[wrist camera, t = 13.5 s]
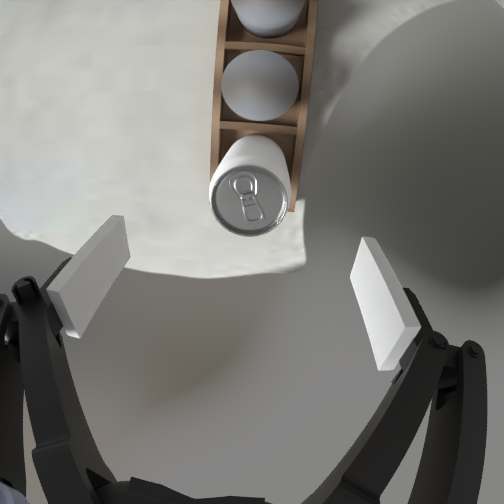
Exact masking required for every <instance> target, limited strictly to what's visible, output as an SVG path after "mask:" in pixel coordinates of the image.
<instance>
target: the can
mask: <svg viewBox="0 0 504 504" xmlns="http://www.w3.org/2000/svg"><path fill="white" fill-rule="evenodd" d="M291 195H292V191H291V183H290V178H289V174H288V169H287V165H286V161H285V157H284V154H283V152H282V150H281V148H280V147H279V145H278V144H277V143H276V142H274V141H273V140H272V139H270V138H268V137H266V136H262V135H248V136H245V137H243V138H241V139H239V140H238V141H236V142H235V143H234V144H233V145H232V146H231V148H230V149H229V150H228V152H227V153H226V155H225V157H224V158H223V160H222V161H221V163H220V164H219V166H218V168H217V169H216V171H215V173H214V175H213V177H212V179H211V182H210V187H209V198H210V204H211V209H212V212H213V214H214V216H215V218H216V220H217V221H218V222H219V223H220V224H221V225H222V226H223V227H224V228H225V229H227V230H228V231H230V232H232V233H234V234H237V235H241V236H248V237H252V236H259V235H263V234H265V233H268V232H270V231H271V230H273V229H274V228H275V227H277V226H278V225H279V223H280V222H281V221H282V219H283V218H284V216H285V214H286V212H287V211H288V208H289V206H290V202H291Z"/></svg>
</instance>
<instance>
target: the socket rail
mask: <svg viewBox="0 0 504 504" xmlns="http://www.w3.org/2000/svg"><path fill="white" fill-rule="evenodd" d="M317 2H318V0H221V3H220V13H219V23H218V35H217V47H216V60H215V74H214V90H213V109H212V131H211V161H210V182H211V179H212V177H213V175H214V173H215V171H216V169H217V168H218V166H219V164H220V163H221V161H222V160H223V158H224V157H225V155H226V153H227V152H228V150H229V149H230V148H231V146H232V145H233V144H234V143H235V142H236V141H238V140H239V139H241V138H243V137H245V136H248V135H262V136H266V137H268V138H270V139H272V140H273V141H274V142H276V143H277V144H278V145H279V147H280V148H281V150H282V152H283V154H284V157H285V161H286V165H287V169H288V174H289V178H290V183H291V191H292V195H291V202H290V206H289V208H288V211H287V212H294V209H295V203H296V196H297V189H298V182H299V175H300V167H301V160H302V152H303V144H304V136H305V128H306V120H307V111H308V103H309V93H310V84H311V74H312V64H313V53H314V42H315V30H316V17H317ZM210 205H211V204H210Z"/></svg>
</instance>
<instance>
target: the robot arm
mask: <svg viewBox="0 0 504 504" xmlns="http://www.w3.org/2000/svg"><path fill="white" fill-rule="evenodd" d="M129 258H130V252H129V247H128V241H127V235H126V228H125V222H124V216H117V215H112V216H111V217H110V218H109V219H108V220H107V221H106V222H105V223H104V224H103V225H102V226H101V227H100V228H99V229H98V230H97V231H96V232H95V233H94V234H93V236H92V237H91V238H90V239H89V240H88V241H87V242H86V243H85V244H84V245H83V246H82V247H81V249H80V250H79V251H78V252H77V253H76V254H75V255H74V257H73V258H71V257H70V258H68V259H67V260H65V261H64V262H62V264H61V265H60V266H59V267H58V268H57V270H55V272H54V273H53V275H51V276H50V278H49V279H48V280H47V281H46V282H45V284H44V285H43V286H42V287H41V289H40V290H39V288H38V285H37V283H36V280H35V278H33V277H30V276H27V277H23V278H21V279H19V280H18V281H17V282H16V283H15V284H14V285H13V287H12V293H13V295H14V297H15V299H16V301H17V302H10V301H9V298H8V296H7V295H5V294H0V504H29V503H28V501H27V499H26V473H25V462H24V447H23V397H24V390H25V396H26V402H27V407H28V412H29V417H30V421H31V426H32V430H33V434H34V438H35V442H36V448H35V449H33V450H32V458H33V462H34V465H35V468H36V471H37V474H38V477H39V480H40V483H41V486H42V488H43V491H44V494H45V496H46V499H47V501H48V504H271V503H268V502H265V498H254V497H253V498H252V497H238V496H226V497H216V498H204V499H194V498H190V497H188V496H186V495H183V494H181V493H179V492H176V491H174V490H172V489H170V488H167V487H165V486H163V485H161V484H156V483H153V482H149V481H145V480H141V479H138V478H134V477H131V479H130V481H119V482H117V480H116V479H115V477H114V475H113V474H112V472H111V471H110V469H109V468H108V467H107V466H106V464H105V463H104V461H103V459H102V457H101V455H100V453H99V451H98V449H97V446H96V444H95V441H94V439H93V437H92V434H91V432H90V429H89V427H88V424H87V422H86V419H85V416H84V413H83V410H82V408H81V405H80V402H79V399H78V396H77V392H76V389H75V386H74V383H73V379H72V376H71V372H70V368H69V364H68V361H67V357H66V352H65V348H64V344H63V339H62V336H61V334H60V330H61V329H62V327H64V329H65V331H66V333H67V335H69V336H72V337H76V338H81V336H82V334H83V332H84V331H85V329H86V327H87V325H88V324H89V322H90V320H91V318H92V317H93V315H94V313H95V312H96V310H97V308H98V307H99V305H100V303H101V302H102V300H103V298H104V297H105V295H106V294H107V292H108V290H109V289H110V287H111V286H112V284H113V283H114V281H115V279H116V278H117V276H118V275H119V273H120V272H121V270H122V269H123V267H124V266H125V264H126V263H127V261H128V260H129ZM350 279H351V282H352V285H353V288H354V291H355V294H356V297H357V300H358V303H359V306H360V309H361V312H362V315H363V319H364V322H365V325H366V329H367V332H368V335H369V338H370V342H371V346H372V349H373V353H374V356H375V360H376V363H377V367H378V371H380V370H393V369H394V368H395V366H396V365H397V364H398V362H400V365H401V370H400V371H399V372H398V374H397V375H396V376H395V378H394V379H393V380H392V385H391V387H390V388H389V390H388V392H387V394H386V395H385V397H384V399H383V400H382V402H381V404H380V405H379V407H378V408H377V410H376V412H375V413H374V415H373V417H372V418H371V419H370V421H369V422H368V424H367V425H366V427H365V429H364V430H363V431H362V433H361V434H360V436H359V437H358V438H357V440H356V441H355V443H354V444H353V446H352V447H351V448H350V449H349V451H348V452H347V453H346V455H345V456H344V457H343V459H342V460H341V461H340V463H339V464H338V465H337V466H336V468H335V469H334V470H333V471H332V472H331V474H330V475H329V476H328V477H327V478H326V480H325V481H324V482H323V483H322V484H321V486H319V488H318V489H317V490H316V491H315V492H314V493H313V494H311V495H310V496H309V497H308V498H307V499H306V500H305V501H304V502H303V503H302V504H380V500H379V498H380V495H381V494H382V492H383V491H384V489H385V488H386V486H387V485H388V483H389V481H390V480H391V478H392V477H393V475H394V473H395V471H396V470H397V468H398V466H399V465H400V463H401V461H402V459H403V458H404V456H405V454H406V452H407V450H408V448H409V447H410V444H411V443H412V441H413V439H414V437H415V435H416V433H417V431H418V428H419V426H420V424H421V422H422V420H423V418H424V416H425V413H426V411H427V409H428V406H429V404H430V401H431V399H432V403H431V410H430V416H429V423H428V428H427V433H426V438H425V443H424V448H423V452H422V457H421V460H420V465H419V468H418V472H417V475H416V479H415V482H414V486H413V489H412V492H411V495H410V498H409V501H408V504H477V499H478V495H479V490H480V485H481V479H482V472H483V466H484V457H485V448H486V435H487V379H486V378H487V377H486V364H485V354H484V351H483V349H482V347H481V346H480V345H479V344H478V343H476V342H474V341H471V340H468V341H465V343H464V344H463V345H462V346H461V347H457V346H453V345H449V343H448V341H447V339H446V338H445V337H444V336H443V335H442V334H440V333H439V332H436V331H433V329H432V327H431V325H430V323H429V321H428V319H427V317H426V315H425V313H424V311H423V310H422V307H421V305H420V304H419V301H418V299H417V297H416V295H415V294H414V293H413V292H412V291H411V290H410V289H409V288H402V286H401V284H400V283H399V281H398V279H397V277H396V275H395V273H394V271H393V270H392V268H391V266H390V264H389V262H388V260H387V259H386V257H385V255H384V253H383V251H382V250H381V248H380V246H379V245H378V243H377V242H376V239H375V238H370V237H362V239H361V243H360V246H359V249H358V253H357V256H356V259H355V262H354V265H353V269H352V272H351V275H350ZM4 339H6V342H5V341H4Z"/></svg>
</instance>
